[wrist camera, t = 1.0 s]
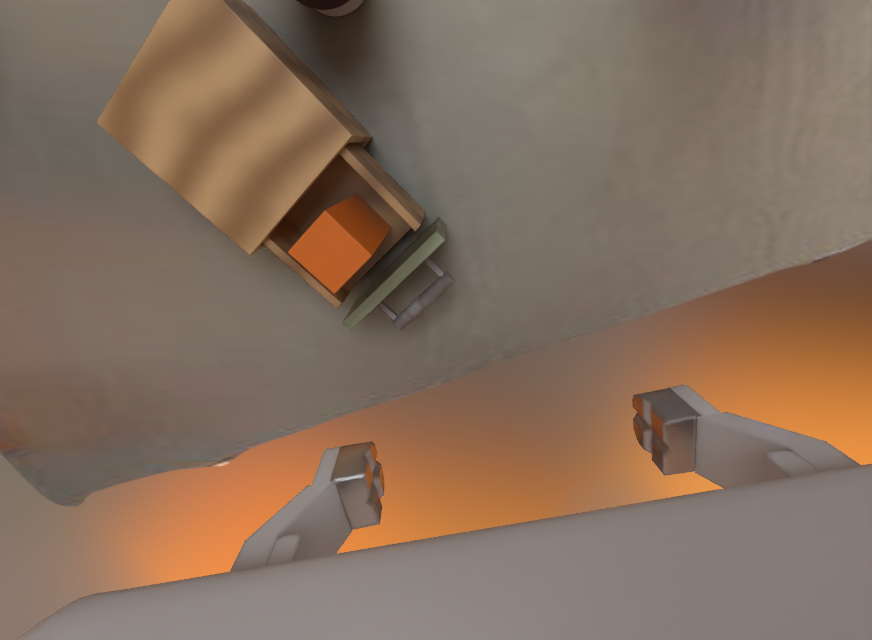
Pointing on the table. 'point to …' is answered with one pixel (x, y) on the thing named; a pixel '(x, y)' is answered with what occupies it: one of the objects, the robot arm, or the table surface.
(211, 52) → the cabinet
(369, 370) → the table surface
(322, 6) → the coffee cup
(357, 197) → the box
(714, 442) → the robot arm
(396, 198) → the drawer
